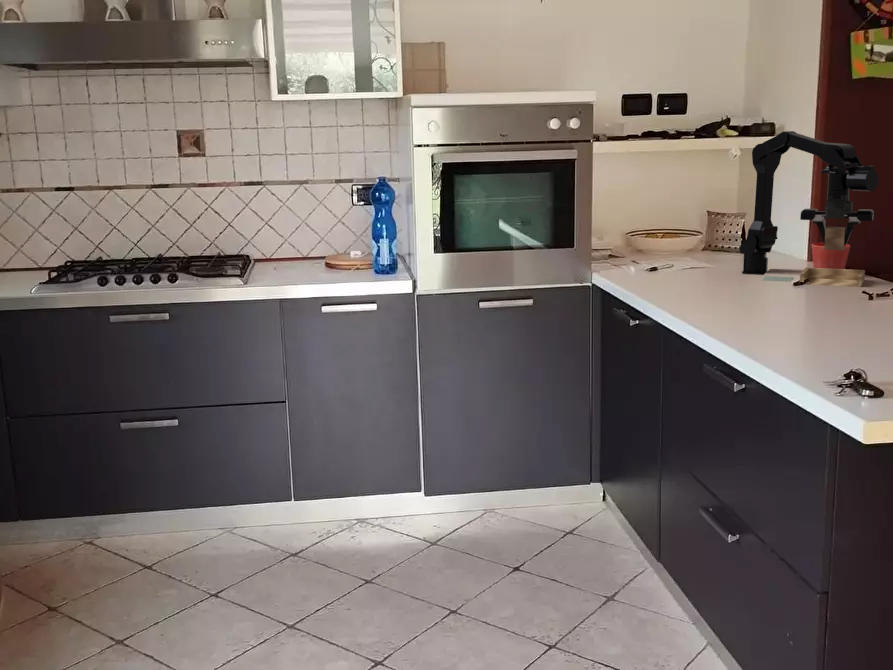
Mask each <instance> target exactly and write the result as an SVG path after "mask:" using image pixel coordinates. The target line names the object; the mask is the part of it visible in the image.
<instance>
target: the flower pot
mask: <svg viewBox="0 0 893 670" xmlns="http://www.w3.org/2000/svg"><path fill="white" fill-rule="evenodd" d="M850 249H851V245H850V243H849V244H848V243H847V244H846V246H845V249H844V250H824V244H823V242H814V243H811V253H812V255H811V256H812V263H813V268H825V269H846V266H847V265H846V264H847V261H848V257H849V253H850Z"/></svg>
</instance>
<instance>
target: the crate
mask: <svg viewBox="0 0 893 670" xmlns="http://www.w3.org/2000/svg"><path fill="white" fill-rule="evenodd" d="M865 273H866V270H865V269H846V268H845V269H825V268H814V267H805V268H804V269H803V270H802V271H801V273H800V274H799V275H800V276H799V283H800V282H804V280H806V279H810V281H809V283H806V284H805V285H812V286H816V285H817V286H829V287H830V286H834V287H852V288H853V287H854V288H856V287H857V288H862V286H863V284H864V282H865V278H866V277H865V275H866V274H865Z"/></svg>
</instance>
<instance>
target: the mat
mask: <svg viewBox="0 0 893 670" xmlns="http://www.w3.org/2000/svg"><path fill="white" fill-rule="evenodd" d="M794 278H795V277H793V276H773V275H772V276H771V275H766V276H764V277H763V278H762V279H761V281H767V282H768V281H769V282H789V283H790V282H792V281H793V280H794Z"/></svg>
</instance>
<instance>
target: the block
mask: <svg viewBox="0 0 893 670" xmlns="http://www.w3.org/2000/svg"><path fill="white" fill-rule="evenodd" d="M846 230H847V226H827V227H826V229H825V245H824V250H844V249H845V246H844V240H845V235H846Z"/></svg>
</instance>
